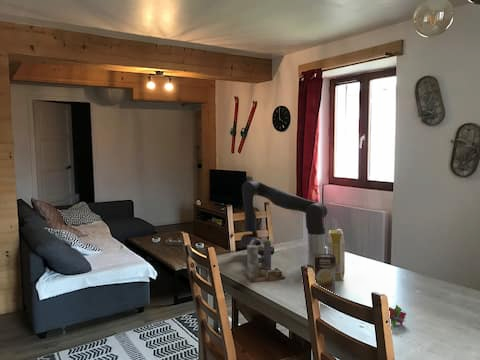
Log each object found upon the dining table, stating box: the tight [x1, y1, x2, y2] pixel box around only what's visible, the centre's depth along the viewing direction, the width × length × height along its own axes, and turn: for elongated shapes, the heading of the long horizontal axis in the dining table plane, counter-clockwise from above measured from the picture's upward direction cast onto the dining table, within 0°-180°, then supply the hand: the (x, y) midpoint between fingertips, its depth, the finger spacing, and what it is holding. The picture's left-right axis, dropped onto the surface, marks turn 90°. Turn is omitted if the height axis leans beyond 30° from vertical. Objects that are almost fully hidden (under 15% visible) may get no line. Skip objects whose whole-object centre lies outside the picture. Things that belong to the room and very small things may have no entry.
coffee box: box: [312, 253, 336, 294], centre depth 177 cm, size 9×6×16 cm
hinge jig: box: [244, 245, 286, 283], centre depth 198 cm, size 17×13×16 cm
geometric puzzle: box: [389, 304, 407, 328], centre depth 142 cm, size 7×7×8 cm
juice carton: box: [326, 228, 346, 282], centre depth 193 cm, size 9×8×24 cm
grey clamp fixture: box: [258, 238, 272, 271], centre depth 211 cm, size 8×5×15 cm, turn 104°
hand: (267, 253), depth 209 cm, fingers open, 5 cm apart
